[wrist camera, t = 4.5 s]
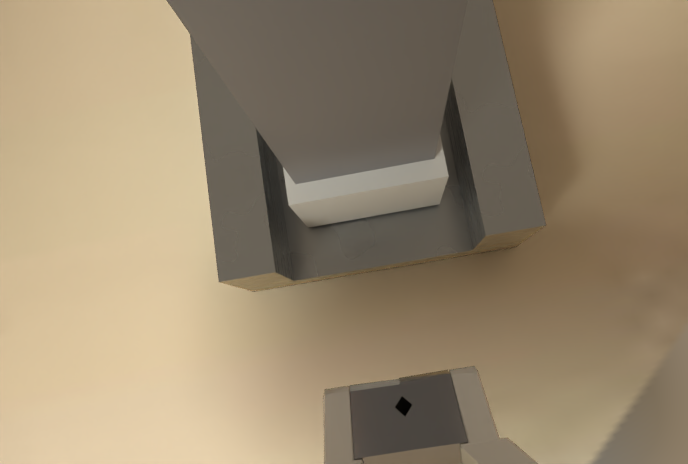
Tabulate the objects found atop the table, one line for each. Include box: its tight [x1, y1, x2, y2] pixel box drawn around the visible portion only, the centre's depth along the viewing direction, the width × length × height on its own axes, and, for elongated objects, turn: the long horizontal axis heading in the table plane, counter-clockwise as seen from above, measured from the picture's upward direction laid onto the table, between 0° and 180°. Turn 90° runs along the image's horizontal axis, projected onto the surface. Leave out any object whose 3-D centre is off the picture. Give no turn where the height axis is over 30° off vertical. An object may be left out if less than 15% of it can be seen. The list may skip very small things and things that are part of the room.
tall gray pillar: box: [167, 0, 468, 228], centre depth 11 cm, size 4×4×11 cm
